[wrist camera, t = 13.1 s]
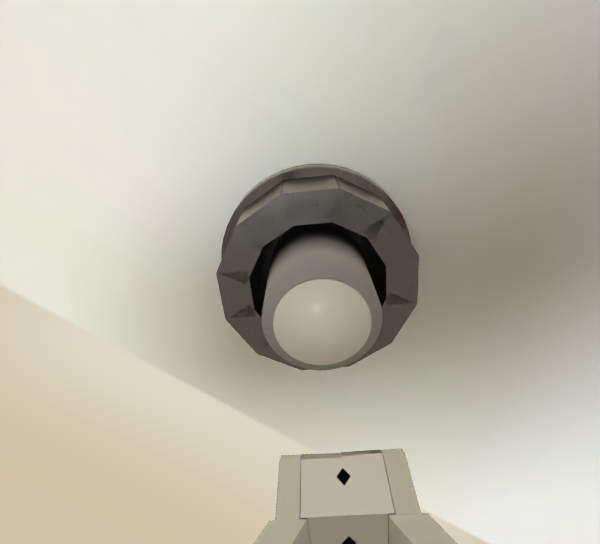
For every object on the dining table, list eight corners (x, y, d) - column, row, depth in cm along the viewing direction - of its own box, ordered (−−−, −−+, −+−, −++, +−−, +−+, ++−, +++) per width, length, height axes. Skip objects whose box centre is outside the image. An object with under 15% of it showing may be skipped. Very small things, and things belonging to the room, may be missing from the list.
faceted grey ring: (408, 154, 21) (431, 168, 17) (405, 326, 25) (423, 367, 21) (208, 174, 21) (189, 192, 17) (240, 340, 25) (229, 382, 22)
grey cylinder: (360, 215, 21) (383, 263, 15) (363, 300, 23) (384, 370, 17) (265, 224, 21) (252, 274, 15) (276, 306, 23) (268, 378, 18)
